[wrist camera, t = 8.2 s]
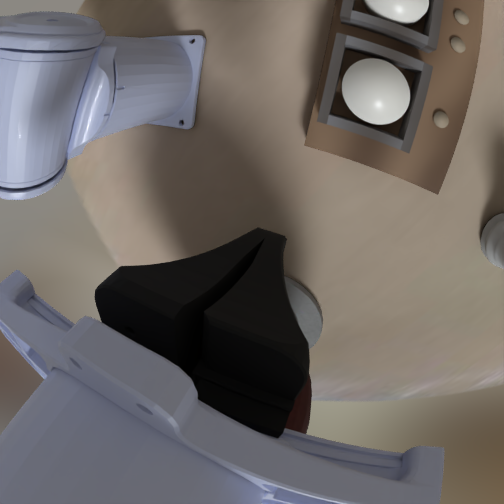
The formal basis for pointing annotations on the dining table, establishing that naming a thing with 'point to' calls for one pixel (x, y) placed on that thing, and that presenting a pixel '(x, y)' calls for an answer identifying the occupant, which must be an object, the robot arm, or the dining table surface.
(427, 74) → the button panel
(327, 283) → the dining table surface
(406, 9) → the button
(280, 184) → the dining table surface
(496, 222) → the rook chess piece
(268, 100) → the dining table surface
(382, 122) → the button
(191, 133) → the dining table surface
